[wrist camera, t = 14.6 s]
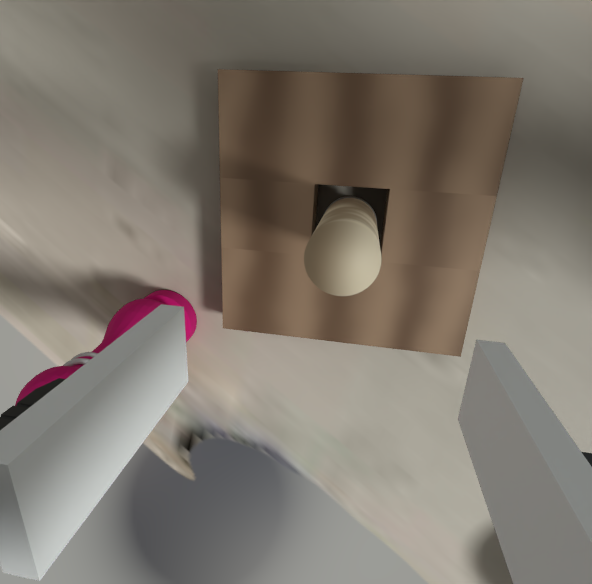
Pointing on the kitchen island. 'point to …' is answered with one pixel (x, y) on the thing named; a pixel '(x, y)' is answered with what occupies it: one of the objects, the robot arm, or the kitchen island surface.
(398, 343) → the walnut board
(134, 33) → the kitchen island surface
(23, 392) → the pepper mill
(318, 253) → the beech peg
